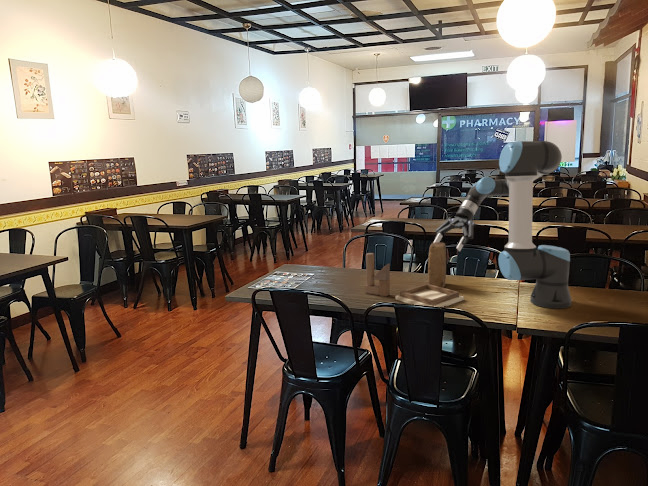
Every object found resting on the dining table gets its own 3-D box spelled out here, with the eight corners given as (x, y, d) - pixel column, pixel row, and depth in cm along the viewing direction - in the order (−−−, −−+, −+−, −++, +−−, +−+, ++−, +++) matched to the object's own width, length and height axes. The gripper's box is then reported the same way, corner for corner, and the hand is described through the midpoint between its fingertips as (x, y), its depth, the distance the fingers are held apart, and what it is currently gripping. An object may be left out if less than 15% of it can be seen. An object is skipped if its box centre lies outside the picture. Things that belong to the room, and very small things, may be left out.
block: (443, 289, 220) (444, 246, 216) (426, 288, 223) (427, 245, 219) (447, 283, 230) (448, 241, 226) (431, 281, 233) (431, 240, 229)
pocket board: (463, 300, 205) (463, 292, 204) (432, 310, 193) (433, 302, 192) (426, 289, 221) (426, 282, 220) (395, 299, 208) (395, 291, 208)
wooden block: (386, 296, 212) (386, 256, 209) (364, 293, 218) (364, 253, 215) (390, 294, 215) (390, 254, 212) (368, 291, 221) (368, 252, 218)
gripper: (492, 219, 227) (472, 256, 221) (448, 214, 246) (428, 248, 240) (486, 209, 223) (465, 246, 217) (442, 204, 242) (421, 239, 236)
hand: (445, 247), depth 228 cm, fingers open, 13 cm apart
